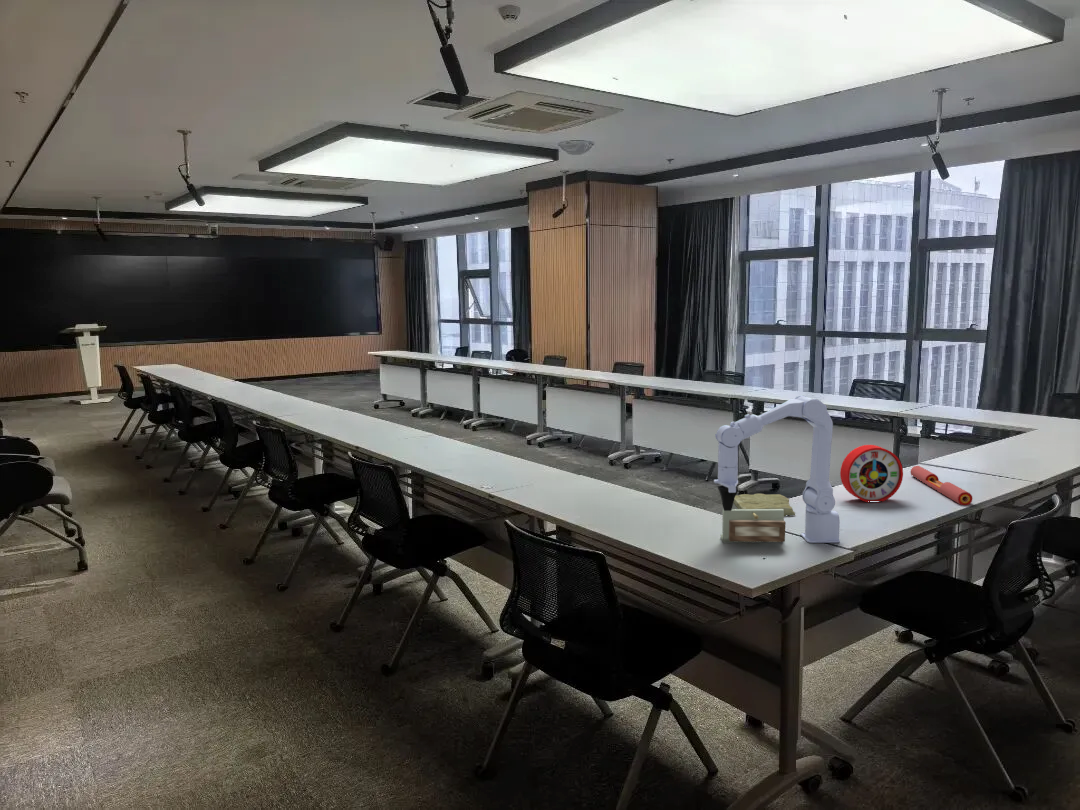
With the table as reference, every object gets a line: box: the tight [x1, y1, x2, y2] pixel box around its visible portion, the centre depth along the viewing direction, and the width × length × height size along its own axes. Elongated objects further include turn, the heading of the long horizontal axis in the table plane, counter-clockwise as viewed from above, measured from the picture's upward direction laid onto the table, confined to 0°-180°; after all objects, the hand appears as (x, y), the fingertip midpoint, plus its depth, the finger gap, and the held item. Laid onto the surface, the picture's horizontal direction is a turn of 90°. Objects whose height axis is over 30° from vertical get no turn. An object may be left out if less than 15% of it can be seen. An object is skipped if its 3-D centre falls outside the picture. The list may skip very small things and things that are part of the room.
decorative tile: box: [733, 493, 796, 517], centre depth 258 cm, size 19×20×4 cm
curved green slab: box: [720, 508, 785, 543], centre depth 222 cm, size 18×8×10 cm, turn 86°
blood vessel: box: [910, 465, 974, 506], centre depth 277 cm, size 42×5×5 cm, turn 174°
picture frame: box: [729, 520, 786, 543], centre depth 217 cm, size 16×2×6 cm, turn 86°
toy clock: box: [839, 444, 904, 503], centre depth 264 cm, size 20×6×20 cm, turn 91°
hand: (727, 510), depth 221 cm, fingers closed
